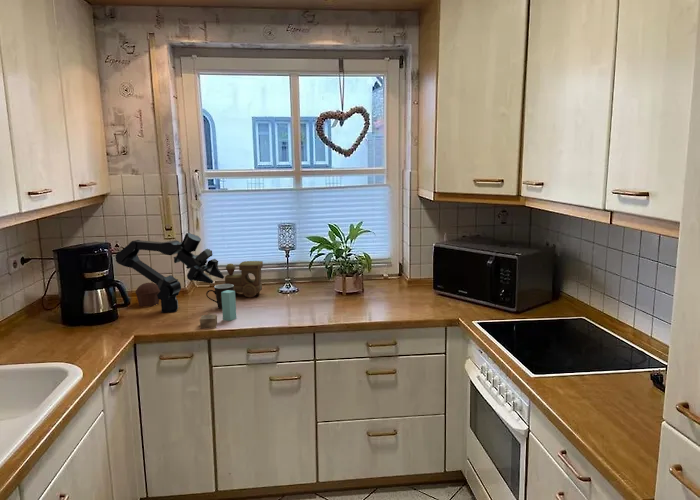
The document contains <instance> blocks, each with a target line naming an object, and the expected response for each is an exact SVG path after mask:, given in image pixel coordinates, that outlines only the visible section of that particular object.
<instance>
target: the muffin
mask: <svg viewBox="0 0 700 500" xmlns="http://www.w3.org/2000/svg"><path fill="white" fill-rule="evenodd" d="M159 292H160V290H159V288H158V286H157V285H156V284H155V283H154V282H145V283H142V284H141V285H139V286H138V287H137V288H136V290H135V292H134V293H135V295H136V298H137V301H138V306H139V307H142V306H150V307H154V306H153V305H155V306H157V305H156V304H158V305H159V304H160V299H158V297H157V294H158V293H159Z"/></svg>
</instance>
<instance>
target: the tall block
mask: <svg viewBox="0 0 700 500" xmlns="http://www.w3.org/2000/svg"><path fill="white" fill-rule="evenodd" d="M221 296H222V309H221V310H222V320H223V321H228V322H232V321H234V320H236V319H237V304H236V303H237V302H236V300H237V299H236V293H235V291H231V290H226V291H223V292H221Z"/></svg>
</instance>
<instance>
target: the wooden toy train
mask: <svg viewBox="0 0 700 500" xmlns="http://www.w3.org/2000/svg"><path fill="white" fill-rule="evenodd" d="M263 267H264V261H261V260H253V261H252V260H245V261H244V260H243V261H242V262H240V263H239V265H238V268H239V271H240V273H236V274H235V270H236V267H235V265H234V264H233V263H227V265H226V266H225V270H226V271H227V273H228V274H226V275H224V284H232V285H234V290H233V291H235V294H242V295H244V296H245V298H249V299H251V298H254V297H255V296H256V295H257V294H259V293H261V291H262V290H263V286H262V285H263V284H262V269H263ZM250 274H252V275H253V276H254V279H251V278H250V277H249V275H250Z"/></svg>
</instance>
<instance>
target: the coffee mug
mask: <svg viewBox="0 0 700 500" xmlns="http://www.w3.org/2000/svg"><path fill="white" fill-rule="evenodd" d="M213 287H214V289H208V290H207V291H206V293H205V294H206V297H207V299H209V300H210V301H213V302H215V303H216V304H217V309H218V310H222V296H221V292H223V291H226V290H231V291H233V290H234V285H232V284H225V283H221V284H216V285H214V286H213ZM209 292H212V293H214V295H215V299H216V300H215V299H213V298H211V297H210V296H208V294H209Z"/></svg>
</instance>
